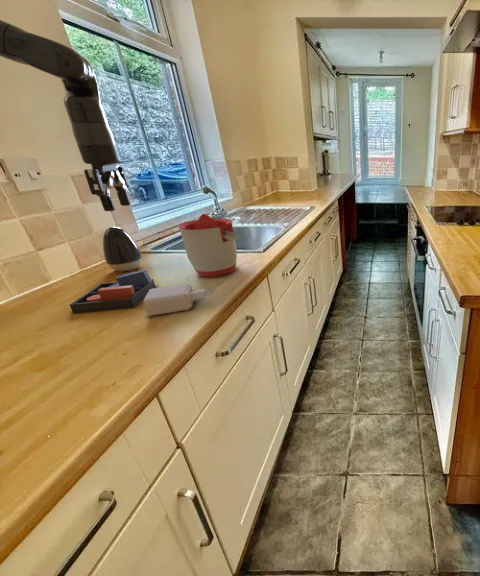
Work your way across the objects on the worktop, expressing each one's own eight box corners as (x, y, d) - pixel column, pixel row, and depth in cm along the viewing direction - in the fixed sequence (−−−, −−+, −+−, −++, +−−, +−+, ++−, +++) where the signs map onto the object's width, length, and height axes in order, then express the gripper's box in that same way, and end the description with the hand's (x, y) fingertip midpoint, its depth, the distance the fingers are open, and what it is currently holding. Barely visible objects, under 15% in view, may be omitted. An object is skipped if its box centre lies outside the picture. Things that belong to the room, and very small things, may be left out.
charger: (213, 306, 86) (148, 317, 81) (215, 293, 94) (155, 303, 88) (209, 291, 84) (142, 301, 79) (211, 278, 92) (150, 287, 86)
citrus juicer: (228, 282, 102) (214, 219, 94) (180, 278, 105) (163, 217, 96) (254, 265, 116) (244, 210, 108) (212, 262, 119) (199, 208, 110)
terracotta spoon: (132, 302, 87) (128, 289, 86) (85, 306, 85) (79, 293, 83) (139, 296, 91) (134, 283, 89) (93, 300, 88) (88, 287, 87)
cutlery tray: (73, 313, 83) (69, 304, 82) (103, 291, 96) (100, 283, 95) (133, 307, 86) (130, 299, 85) (155, 286, 99) (153, 279, 98)
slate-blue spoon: (148, 284, 93) (141, 272, 91) (108, 295, 91) (99, 283, 90) (153, 280, 96) (146, 268, 94) (114, 290, 95) (107, 278, 93)
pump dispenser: (143, 262, 120) (130, 222, 113) (146, 269, 112) (132, 227, 106) (109, 268, 114) (92, 226, 107) (110, 276, 106) (93, 232, 100)
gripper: (95, 143, 86) (116, 204, 93) (59, 143, 73) (86, 213, 80) (127, 143, 88) (145, 203, 94) (97, 143, 75) (120, 212, 82)
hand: (118, 208), depth 87 cm, fingers open, 8 cm apart
